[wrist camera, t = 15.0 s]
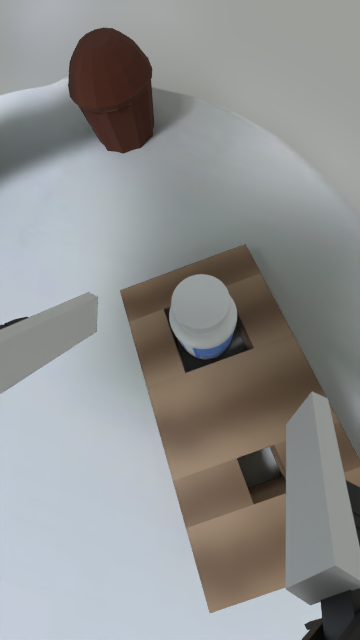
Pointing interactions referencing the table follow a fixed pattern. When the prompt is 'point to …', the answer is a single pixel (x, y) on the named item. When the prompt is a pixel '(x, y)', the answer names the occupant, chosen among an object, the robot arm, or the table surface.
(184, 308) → the pill bottle
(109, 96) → the muffin
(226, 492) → the socket board
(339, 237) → the table surface
